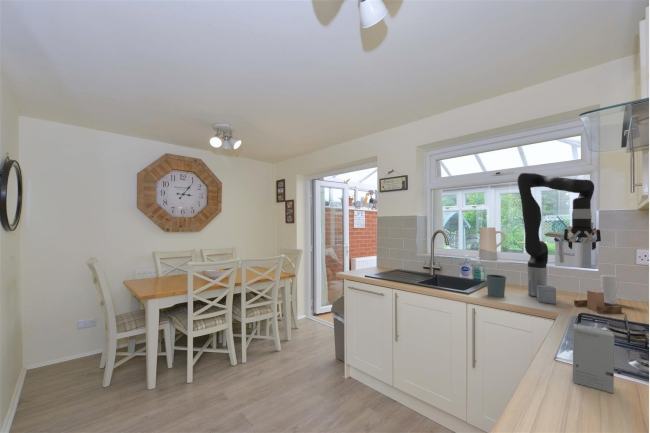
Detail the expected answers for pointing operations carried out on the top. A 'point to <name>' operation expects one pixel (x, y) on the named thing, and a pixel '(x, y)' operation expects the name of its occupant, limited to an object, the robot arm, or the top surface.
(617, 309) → the frame
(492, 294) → the green plant pot
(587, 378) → the grey upright rectangular block
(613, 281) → the drinking glass
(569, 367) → the top surface
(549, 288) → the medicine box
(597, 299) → the terracotta block
